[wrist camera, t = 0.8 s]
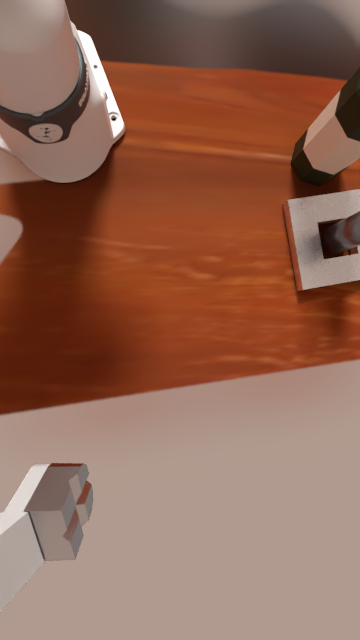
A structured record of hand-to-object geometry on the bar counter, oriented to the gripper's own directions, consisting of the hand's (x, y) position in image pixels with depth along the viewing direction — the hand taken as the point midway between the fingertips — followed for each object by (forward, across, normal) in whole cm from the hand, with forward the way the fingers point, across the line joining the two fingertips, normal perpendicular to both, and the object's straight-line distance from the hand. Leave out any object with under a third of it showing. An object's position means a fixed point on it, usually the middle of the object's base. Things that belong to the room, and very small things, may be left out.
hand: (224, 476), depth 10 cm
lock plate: (+48, -21, +1) cm, 52 cm away
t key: (+48, -21, +1) cm, 52 cm away
